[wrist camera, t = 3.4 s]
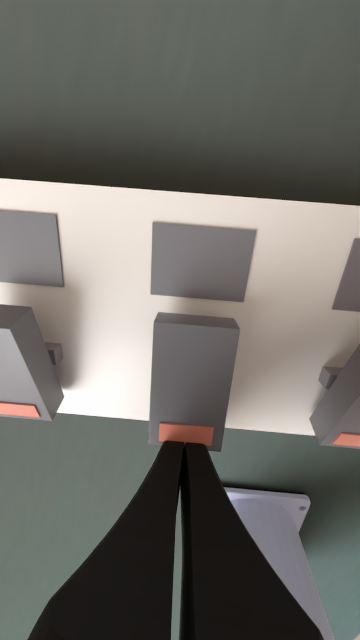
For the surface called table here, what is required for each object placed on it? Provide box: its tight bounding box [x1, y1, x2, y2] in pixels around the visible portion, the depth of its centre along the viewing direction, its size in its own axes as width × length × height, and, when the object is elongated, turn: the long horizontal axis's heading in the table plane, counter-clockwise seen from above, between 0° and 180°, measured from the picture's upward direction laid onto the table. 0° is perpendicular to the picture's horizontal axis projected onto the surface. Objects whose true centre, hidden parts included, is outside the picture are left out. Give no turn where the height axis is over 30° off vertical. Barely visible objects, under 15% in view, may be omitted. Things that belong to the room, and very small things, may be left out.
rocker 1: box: [0, 304, 64, 421], centre depth 9 cm, size 5×3×1 cm, turn 176°
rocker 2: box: [148, 312, 240, 452], centre depth 9 cm, size 5×3×1 cm, turn 176°
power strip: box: [0, 178, 360, 436], centre depth 11 cm, size 10×28×4 cm, turn 86°
